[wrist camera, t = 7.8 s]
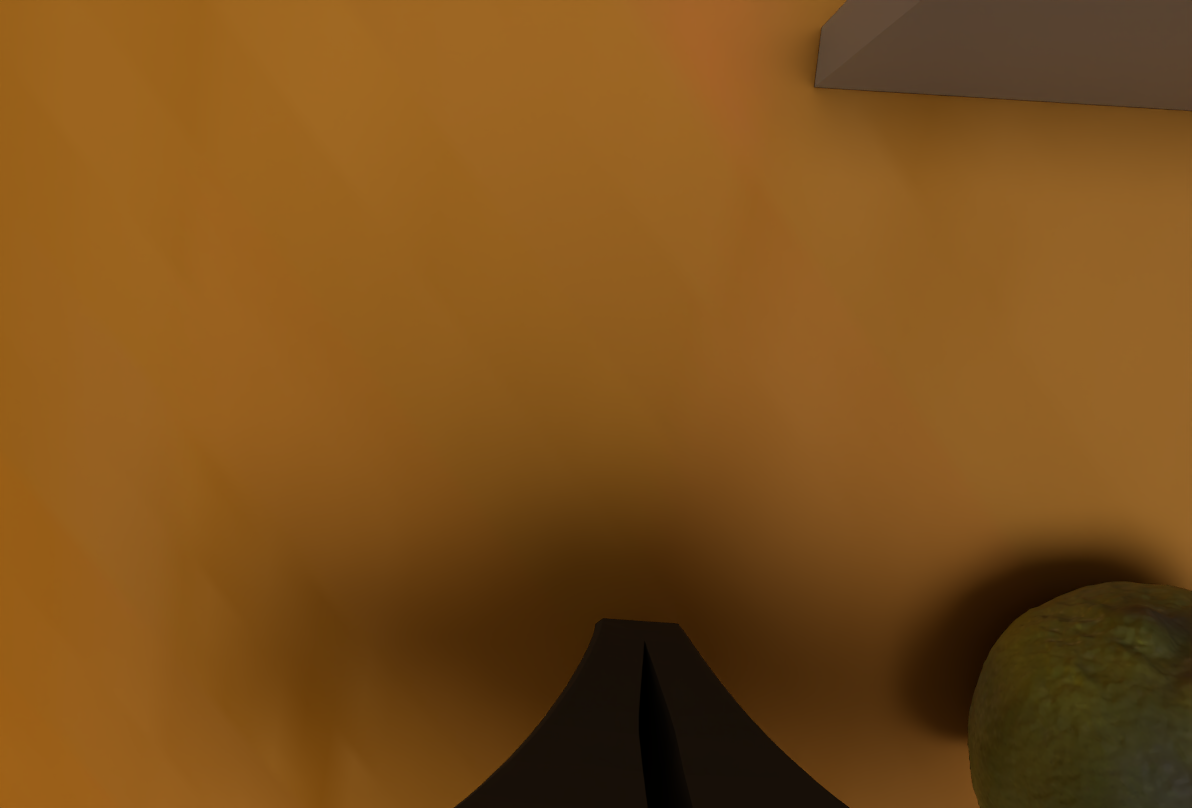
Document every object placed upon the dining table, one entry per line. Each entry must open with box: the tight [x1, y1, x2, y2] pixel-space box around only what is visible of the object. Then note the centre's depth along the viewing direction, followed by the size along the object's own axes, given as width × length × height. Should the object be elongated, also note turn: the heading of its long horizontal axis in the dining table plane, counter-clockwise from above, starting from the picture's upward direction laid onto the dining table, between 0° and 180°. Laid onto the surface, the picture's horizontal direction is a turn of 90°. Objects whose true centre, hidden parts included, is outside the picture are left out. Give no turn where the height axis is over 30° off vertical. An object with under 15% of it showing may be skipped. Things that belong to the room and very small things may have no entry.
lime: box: [968, 581, 1192, 808], centre depth 10 cm, size 4×5×5 cm
